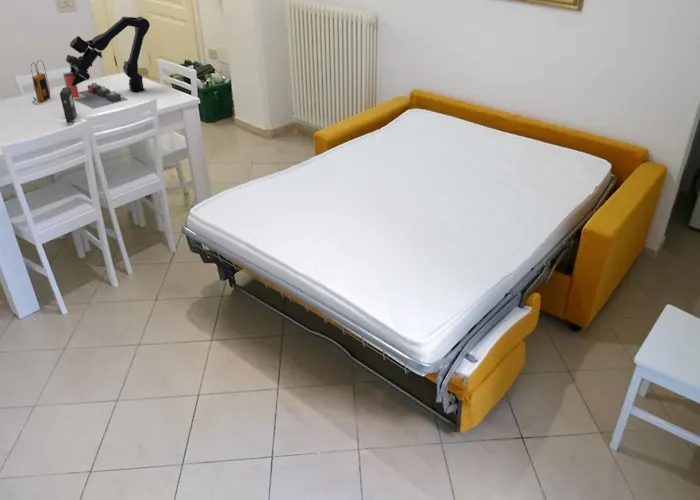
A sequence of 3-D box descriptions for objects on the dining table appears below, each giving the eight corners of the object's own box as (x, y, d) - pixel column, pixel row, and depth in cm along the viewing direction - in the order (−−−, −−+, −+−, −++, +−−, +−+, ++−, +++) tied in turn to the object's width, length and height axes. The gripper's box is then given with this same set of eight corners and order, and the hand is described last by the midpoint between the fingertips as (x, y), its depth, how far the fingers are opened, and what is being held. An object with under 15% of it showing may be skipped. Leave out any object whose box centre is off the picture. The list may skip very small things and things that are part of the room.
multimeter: (37, 93, 315) (27, 56, 304) (54, 95, 314) (45, 57, 303) (21, 103, 303) (10, 64, 292) (39, 104, 302) (28, 65, 291)
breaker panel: (100, 89, 324) (98, 78, 320) (129, 102, 309) (126, 90, 306) (61, 99, 309) (58, 87, 306) (89, 112, 295) (86, 100, 291)
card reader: (75, 123, 283) (67, 92, 275) (66, 123, 282) (58, 93, 274) (78, 116, 290) (71, 86, 282) (69, 116, 290) (62, 86, 281)
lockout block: (77, 94, 311) (72, 71, 305) (79, 96, 308) (74, 73, 302) (68, 95, 309) (62, 72, 302) (70, 98, 306) (64, 75, 299)
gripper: (69, 44, 304) (52, 68, 305) (78, 53, 292) (59, 78, 293) (88, 58, 313) (71, 81, 313) (97, 67, 300) (79, 91, 301)
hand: (70, 83), depth 305 cm, fingers open, 9 cm apart
